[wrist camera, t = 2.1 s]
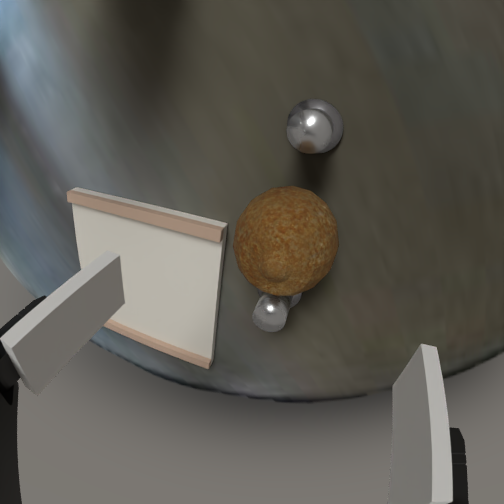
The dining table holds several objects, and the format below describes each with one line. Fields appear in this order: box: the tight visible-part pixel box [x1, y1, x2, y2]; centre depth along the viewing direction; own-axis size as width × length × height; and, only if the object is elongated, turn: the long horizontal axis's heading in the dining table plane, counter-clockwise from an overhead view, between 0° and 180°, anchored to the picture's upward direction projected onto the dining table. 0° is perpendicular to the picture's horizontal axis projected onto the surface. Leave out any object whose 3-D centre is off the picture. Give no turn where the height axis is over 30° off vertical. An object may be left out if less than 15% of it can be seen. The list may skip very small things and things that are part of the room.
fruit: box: [233, 186, 339, 296], centre depth 19 cm, size 6×6×8 cm
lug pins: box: [252, 99, 343, 332], centre depth 21 cm, size 4×17×4 cm, turn 171°
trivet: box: [67, 187, 228, 369], centre depth 29 cm, size 16×16×1 cm
